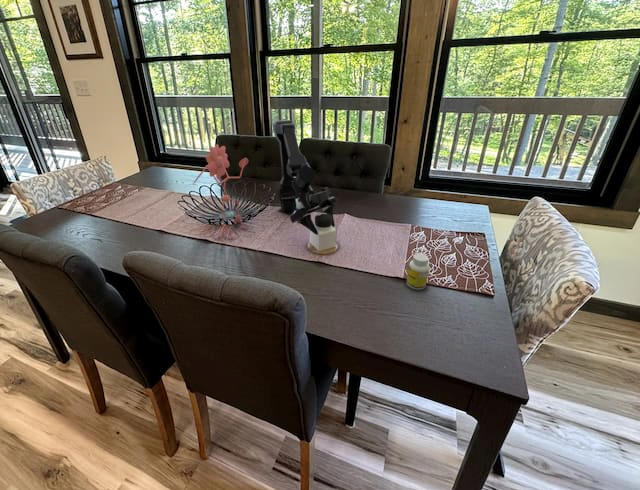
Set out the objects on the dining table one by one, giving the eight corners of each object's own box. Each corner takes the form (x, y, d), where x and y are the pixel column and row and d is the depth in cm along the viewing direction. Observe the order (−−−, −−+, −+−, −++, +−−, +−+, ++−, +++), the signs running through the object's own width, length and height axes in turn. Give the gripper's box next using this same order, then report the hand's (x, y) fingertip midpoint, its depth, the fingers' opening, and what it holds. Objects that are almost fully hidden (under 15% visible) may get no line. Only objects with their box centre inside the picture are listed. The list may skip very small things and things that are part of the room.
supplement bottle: (402, 279, 95) (407, 252, 90) (420, 278, 95) (425, 251, 91) (410, 291, 90) (416, 263, 86) (429, 289, 90) (435, 261, 86)
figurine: (258, 221, 134) (251, 138, 118) (218, 250, 114) (204, 156, 98) (230, 214, 141) (220, 135, 125) (188, 240, 122) (170, 151, 105)
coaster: (301, 247, 114) (301, 246, 113) (319, 235, 121) (319, 234, 120) (326, 258, 107) (326, 257, 107) (343, 245, 114) (343, 244, 114)
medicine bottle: (336, 247, 112) (338, 217, 106) (319, 252, 110) (319, 222, 104) (325, 237, 118) (327, 209, 112) (309, 242, 115) (309, 213, 110)
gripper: (294, 188, 101) (317, 230, 98) (335, 175, 110) (357, 213, 108) (280, 203, 110) (301, 242, 107) (319, 189, 120) (339, 225, 117)
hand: (325, 230), depth 109 cm, fingers closed on medicine bottle, 8 cm apart
